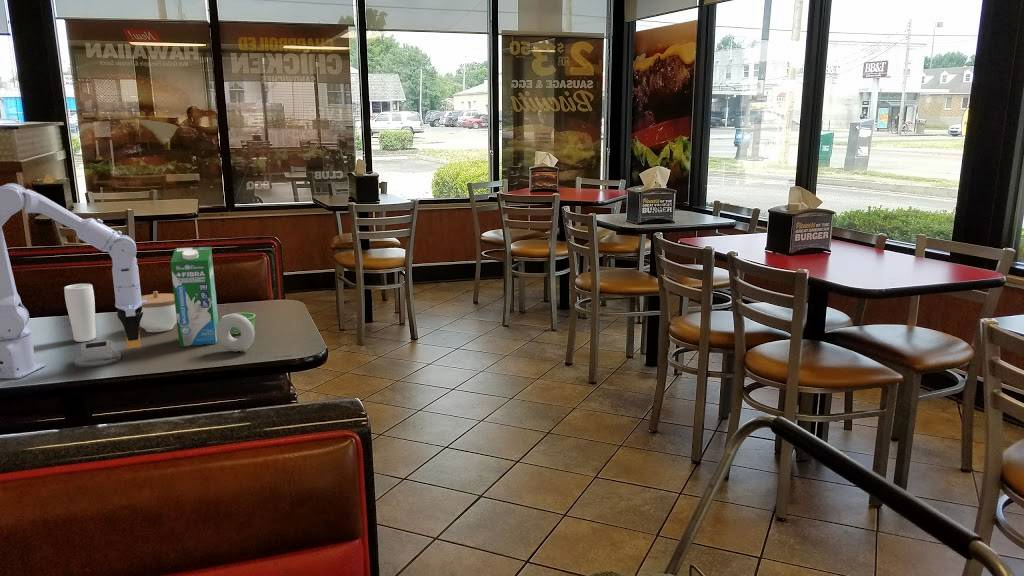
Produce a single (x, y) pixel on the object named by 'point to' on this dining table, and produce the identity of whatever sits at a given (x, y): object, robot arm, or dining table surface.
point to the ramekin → (249, 316)
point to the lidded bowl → (158, 312)
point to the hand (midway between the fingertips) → (132, 338)
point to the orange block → (134, 342)
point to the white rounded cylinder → (81, 311)
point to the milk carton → (194, 295)
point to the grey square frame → (97, 354)
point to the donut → (225, 336)
